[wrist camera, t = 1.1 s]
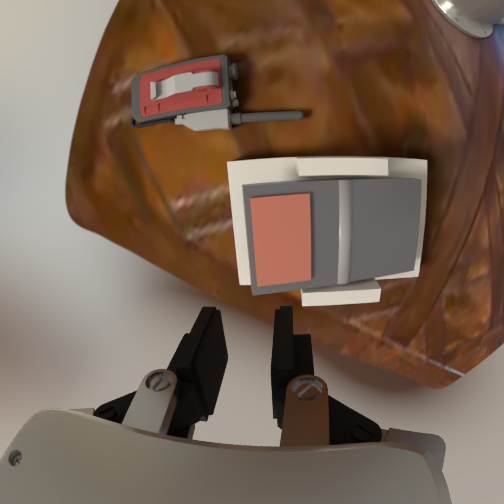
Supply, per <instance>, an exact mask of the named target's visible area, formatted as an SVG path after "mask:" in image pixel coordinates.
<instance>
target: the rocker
mask: <svg viewBox="0 0 504 504" xmlns="http://www.w3.org/2000/svg"><path fill="white" fill-rule="evenodd" d="M421 183H422V180H421V179H416V178H332V179H310V180H293V181H278V182H265V183H253V184H243V185H242V193H243V204H244V215H245V226H246V237H247V248H248V259H249V270H250V280H251V289H252V294H253V295H261V294H269V293H277V292H284V291H292V290H299V289H306V288H313V287H320V286H327V285H333V284H346V283H349V282H352V281H358V280H364V279H370V278H376V277H382V276H387V275H393V274H398V273H404V272H409V271H414V267H415V260H416V252H417V244H418V234H419V223H420V209H421Z"/></svg>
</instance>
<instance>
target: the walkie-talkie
mask: <svg viewBox="0 0 504 504" xmlns="http://www.w3.org/2000/svg"><path fill="white" fill-rule="evenodd" d="M232 79H233V80H237V79H238V67H237V64H236V63H232V64H231V61H230V60H229V58H228V57H227V56H225V55H216V56H210V57H204V58H198V59H193V60H188V61H184V62H180V63H175V64H171V65H166V66H162V67H158V68H156V69H155V68H154V69H152V70H151V69H150V70H149V71H147V70H146V71H145V72H141V73H137V75H136V76H135V77H134V78H133V79H132V83H131V84H132V115H133V117H132V119H131V126H132V127H134V128H141V127H146V126H150V125H155V124H160V123H166V122H170V123H175V124H176V125H182V124H183V125H185V126H187V127H189V128H190V129H192V130H194V131H207V130H216V129H225V130H228V129H232V125H235V124H242V123H243V122H258V121H280V120H302V119H303V118H304V113H303V112H302V111H279V112H260V113H246V114H242V113H231V110H232V109H233V108H234V107H235V106H239V102H238V99H234V98H236V91H233V85H232ZM173 118H177V119H175V120H172V119H173ZM135 121H138V122H139V123H144V124H139V125H136V124H135Z"/></svg>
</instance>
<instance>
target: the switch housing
mask: <svg viewBox="0 0 504 504" xmlns="http://www.w3.org/2000/svg"><path fill="white" fill-rule="evenodd" d="M227 166H228V177H229V187H230V197H231V207H232V217H233V227H234V236H235V246H236V255H237V264H238V274H239V282H240V285H251V280H250V270H249V259H248V248H247V237H246V226H245V215H244V204H243V193H242V185H243V184H253V183H265V182H278V181H293V180H310V179H332V178H416V179H421V180H422V183H421V209H420V223H419V234H418V244H417V252H416V260H415V267H414V271H409V272H404V273H398V274H393V275H387V276H382V277H376V278H370V279H364V280H358V281H352V282H349V283H346V284H333V285H327V286H320V287H313V288H306V289H301V296H302V306H319V305H338V304H354V303H369V302H379V299H380V292H381V288H380V286H379V285H378V283H377V281H376V279H391V278H405V277H418V274H419V268H420V261H421V254H422V246H423V237H424V227H425V215H426V197H427V160H421V159H411V158H395V157H373V156H303V157H279V158H263V159H249V160H237V161H229V162H227Z"/></svg>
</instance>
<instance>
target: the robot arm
mask: <svg viewBox="0 0 504 504" xmlns="http://www.w3.org/2000/svg"><path fill="white" fill-rule="evenodd" d="M431 1H432V3H433V4H434V5H435V7H436V8H437V9H438V10H439V12H440V13H441V14H442V15H443V16H444V17H445V18H446V19H447V20H448V21H449V22H450V23H451V24H453V25H454V26H455V27H457V28H458V29H459V30H461V31H462V32H464V33H465V34H467V35H469V36H472V37H475V38H481V39H482V38H486V37H488V36H490V35H491V34H492V31H493V25H494V24H498V25H501V24H502V25H503V26H504V0H431ZM271 360H272V361H271V386H272V403H273V418H274V419H277V424H278V427H279V428H280V429H282V433H281V441H280V447H269V446H247V445H233V444H222V443H213V442H205V441H198V440H192V438H193V433H194V430H195V423H197V422H199V421H207V420H208V416H209V415H213V413H214V408H215V405H216V402H217V398H218V394H219V391H220V387H221V383H222V380H223V376H224V372H225V368H226V365H227V361H228V353H227V347H226V341H225V336H224V331H223V324H222V318H221V312H220V310H216V307H203V308H202V309H201V311H200V313H199V315H198V318H197V319H196V321H195V323H194V325H193V328H192V329H191V332H190V334H189V333H186V334H185V335H184V336H183V338H182V340H181V342H180V344H179V346H178V348H177V350H176V352H175V354H174V356H173V358H172V360H171V362H170V364H169V366H168V368H167V369H158V370H154V371H152V372H150V373H148V374H147V375H146V376H145V377H144V378H143V380H142V382H141V384H140V386H139V388H138V390H137V391H135V392H132V393H130V394H127V395H125V396H123V397H120V398H117V399H115V400H112V401H110V402H108V403H105V404H103V405H101V406H100V407H98V408H97V409H96V410H95V409H94V408H86V409H69V410H67V409H44V410H41V411H38V412H37V413H35V414H34V415H33V416H32V417H31V418H30V419H29V420H28V421H27V422H26V423H25V424H24V426H23V427H22V428H21V429H20V431H19V432H18V433H17V435H16V437H15V438H14V439H13V441H12V442H11V444H10V445H9V447H8V448H7V450H6V451H5V453H4V455H3V456H2V458H1V460H0V504H452V503H451V499H450V494H449V491H448V487H447V483H446V481H445V478H444V475H443V472H442V467H443V462H444V456H445V450H446V447H445V443H444V440H443V439H442V438H441V437H439V436H437V435H434V434H427V433H419V432H412V431H405V430H399V429H394V428H389V430H385V429H381V428H380V427H379V425H378V424H376V423H375V422H374V421H372V420H370V419H368V418H366V417H365V416H363V415H361V414H359V413H358V412H356V411H354V410H353V409H351V408H349V407H347V406H346V405H344V404H342V403H341V402H339V401H337V400H336V399H334V398H332V397H331V396H329V395H328V388H327V384H326V383H325V382H324V380H322V379H321V378H319V377H317V376H314V368H313V367H314V366H313V355H312V345H311V336H310V334H300V335H293V310H292V306H280V309H279V310H275V321H274V334H273V347H272V359H271Z"/></svg>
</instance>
